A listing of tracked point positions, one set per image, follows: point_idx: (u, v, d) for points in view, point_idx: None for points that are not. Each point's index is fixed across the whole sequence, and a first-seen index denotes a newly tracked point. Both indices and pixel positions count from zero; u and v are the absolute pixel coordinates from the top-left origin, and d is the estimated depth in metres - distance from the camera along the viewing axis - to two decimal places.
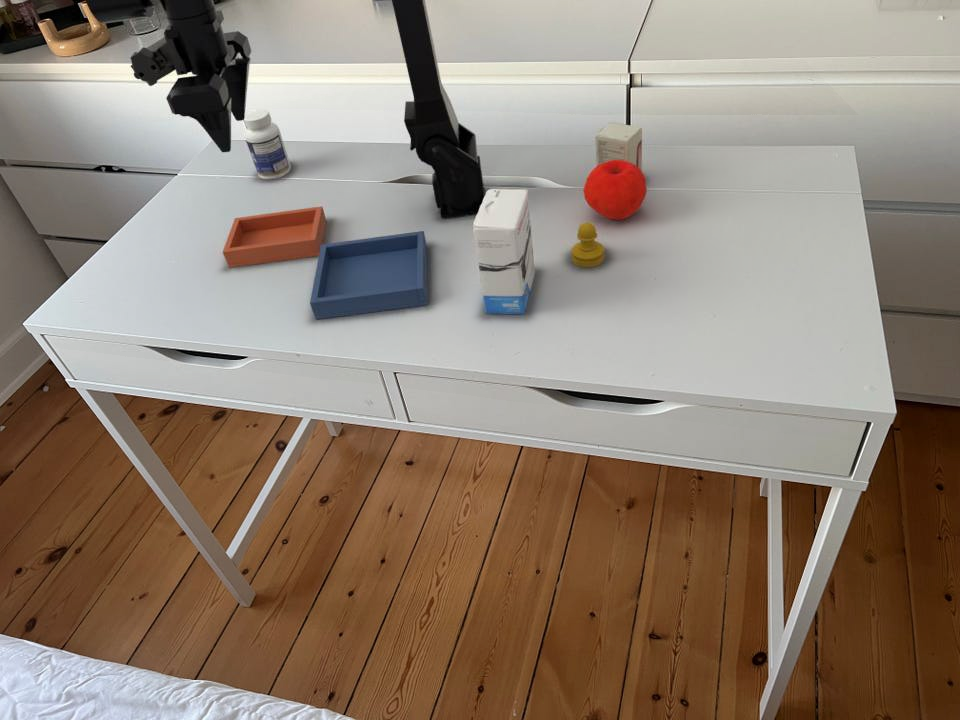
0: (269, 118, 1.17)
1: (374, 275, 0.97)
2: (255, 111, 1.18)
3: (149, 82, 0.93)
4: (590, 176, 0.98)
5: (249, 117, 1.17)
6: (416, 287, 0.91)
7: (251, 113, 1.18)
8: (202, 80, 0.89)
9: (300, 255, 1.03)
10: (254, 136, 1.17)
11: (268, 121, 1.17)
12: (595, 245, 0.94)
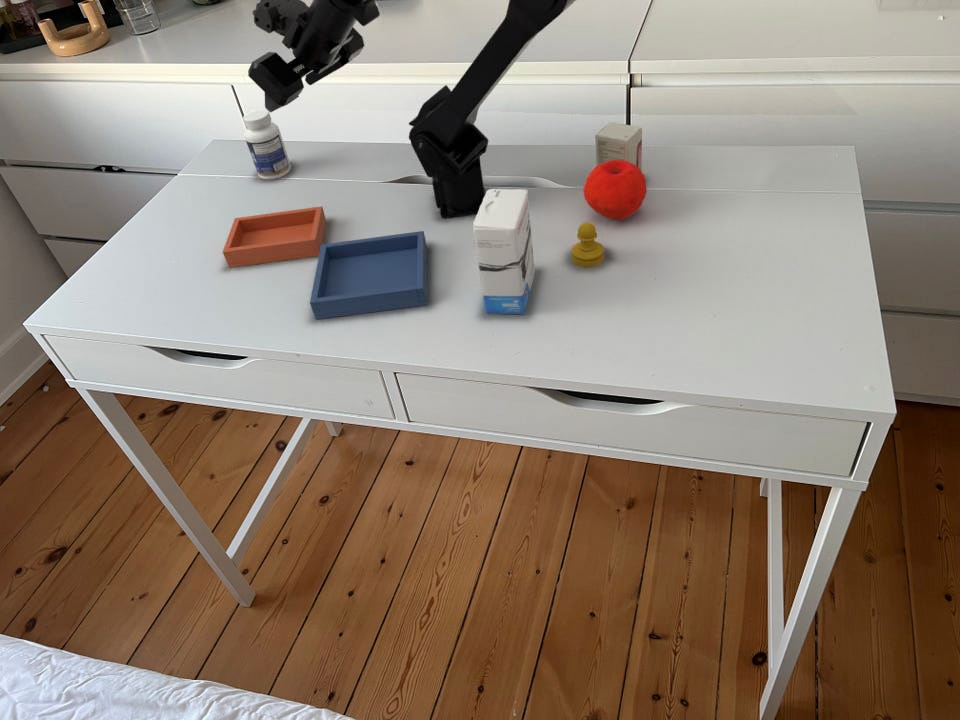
0: (269, 118, 1.17)
1: (374, 275, 0.97)
2: (255, 111, 1.18)
3: None
4: (590, 176, 0.98)
5: (249, 117, 1.17)
6: (416, 287, 0.91)
7: (251, 113, 1.18)
8: (286, 77, 0.99)
9: (300, 255, 1.03)
10: (254, 136, 1.17)
11: (268, 121, 1.17)
12: (595, 245, 0.94)
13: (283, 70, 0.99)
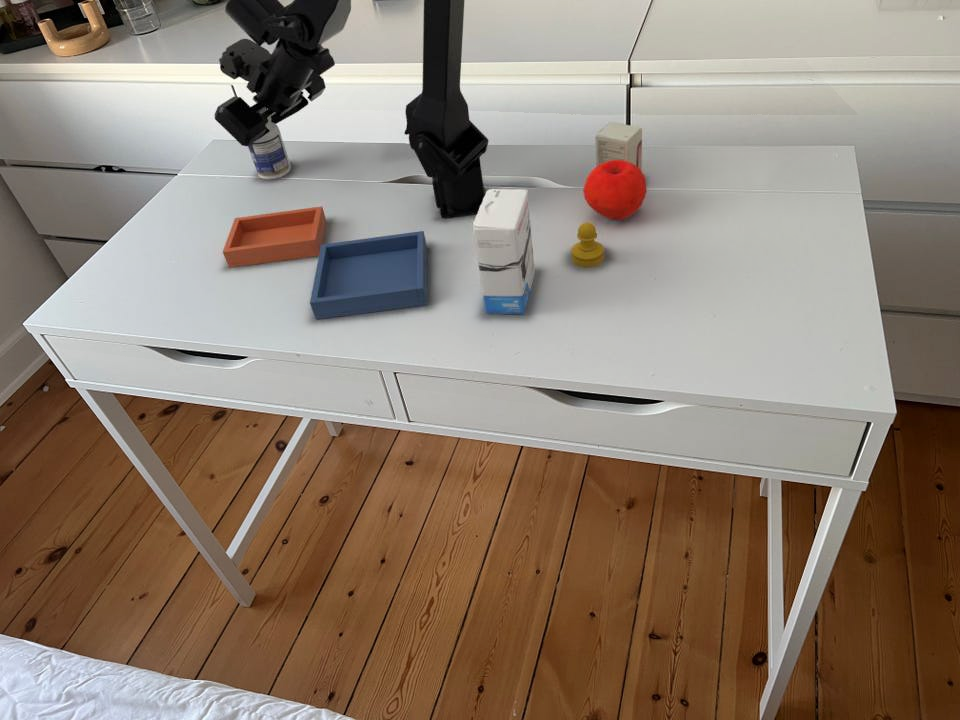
0: (269, 118, 1.17)
1: (374, 275, 0.97)
2: None
3: None
4: (590, 176, 0.98)
5: None
6: (416, 287, 0.91)
7: None
8: (249, 120, 1.08)
9: (300, 255, 1.03)
10: None
11: (268, 121, 1.17)
12: (595, 245, 0.94)
13: (246, 113, 1.08)
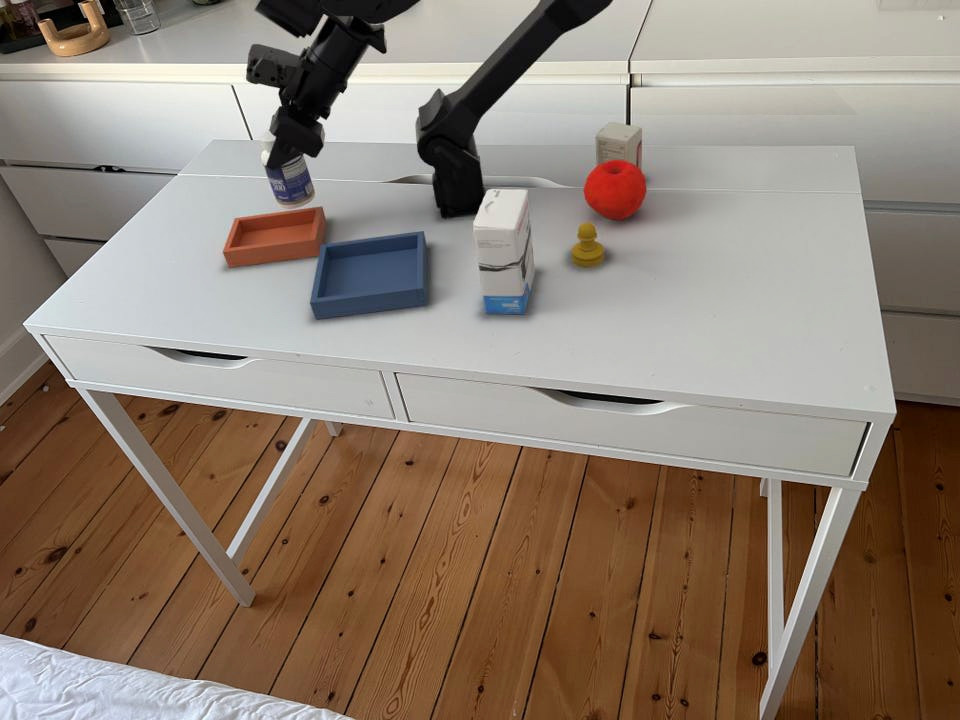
0: None
1: (374, 275, 0.97)
2: (268, 131, 1.00)
3: (250, 79, 0.92)
4: (590, 176, 0.98)
5: (270, 137, 0.99)
6: (416, 287, 0.91)
7: (266, 134, 0.99)
8: (313, 126, 0.92)
9: (300, 255, 1.03)
10: None
11: None
12: (595, 245, 0.94)
13: (306, 120, 0.92)
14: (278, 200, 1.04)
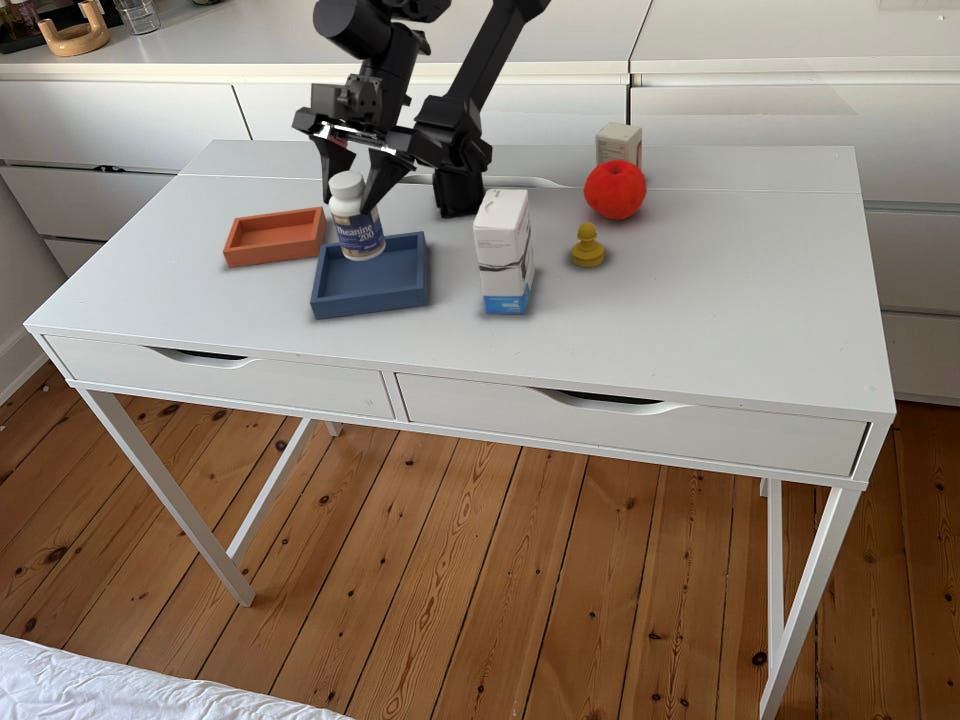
0: None
1: (374, 275, 0.97)
2: (334, 181, 0.88)
3: (342, 115, 0.81)
4: (590, 176, 0.98)
5: (349, 182, 0.87)
6: (416, 287, 0.91)
7: (339, 183, 0.87)
8: None
9: (300, 255, 1.03)
10: None
11: None
12: (595, 245, 0.94)
13: None
14: (362, 253, 0.92)
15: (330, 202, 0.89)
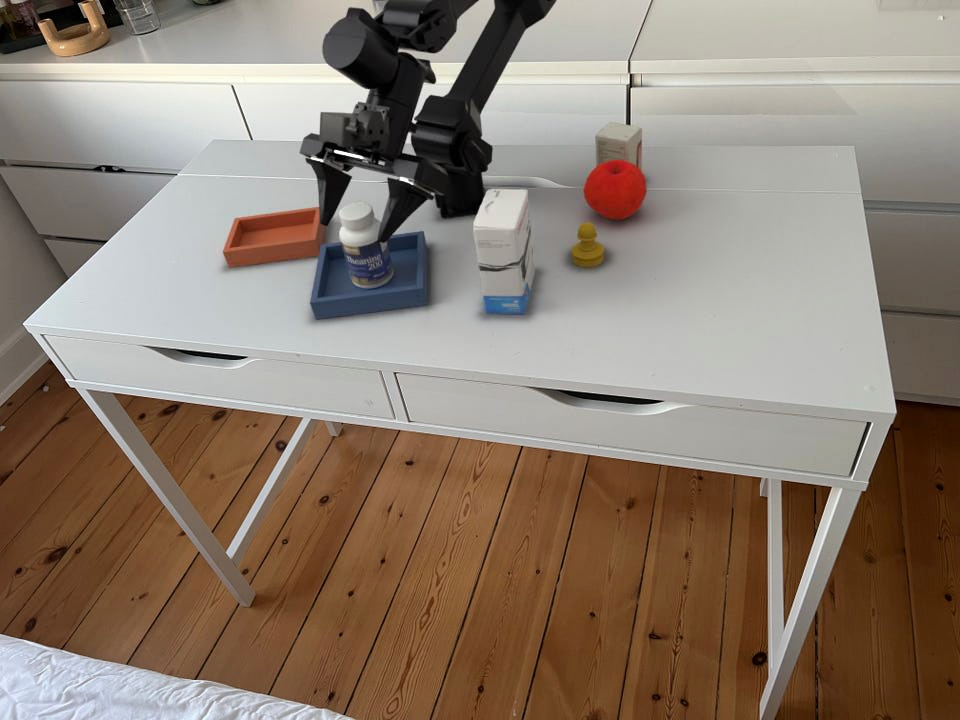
0: None
1: None
2: (345, 212, 0.91)
3: (351, 143, 0.83)
4: (590, 176, 0.98)
5: (359, 213, 0.90)
6: (416, 287, 0.91)
7: (349, 214, 0.90)
8: None
9: (300, 255, 1.03)
10: (378, 228, 0.92)
11: None
12: (595, 245, 0.94)
13: None
14: (371, 281, 0.94)
15: (340, 232, 0.92)
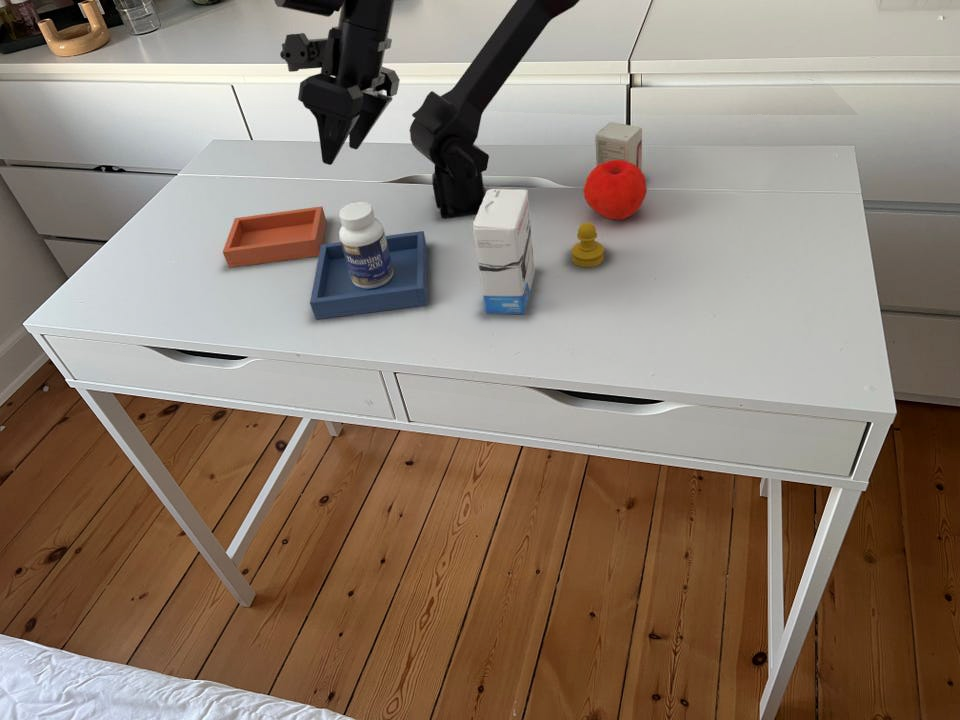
0: None
1: None
2: (345, 212, 0.91)
3: (290, 67, 0.90)
4: (590, 176, 0.98)
5: (359, 213, 0.90)
6: (416, 287, 0.91)
7: (349, 214, 0.90)
8: (343, 84, 0.85)
9: (300, 255, 1.03)
10: (378, 228, 0.92)
11: None
12: (595, 245, 0.94)
13: (336, 80, 0.85)
14: (371, 281, 0.94)
15: (340, 232, 0.92)
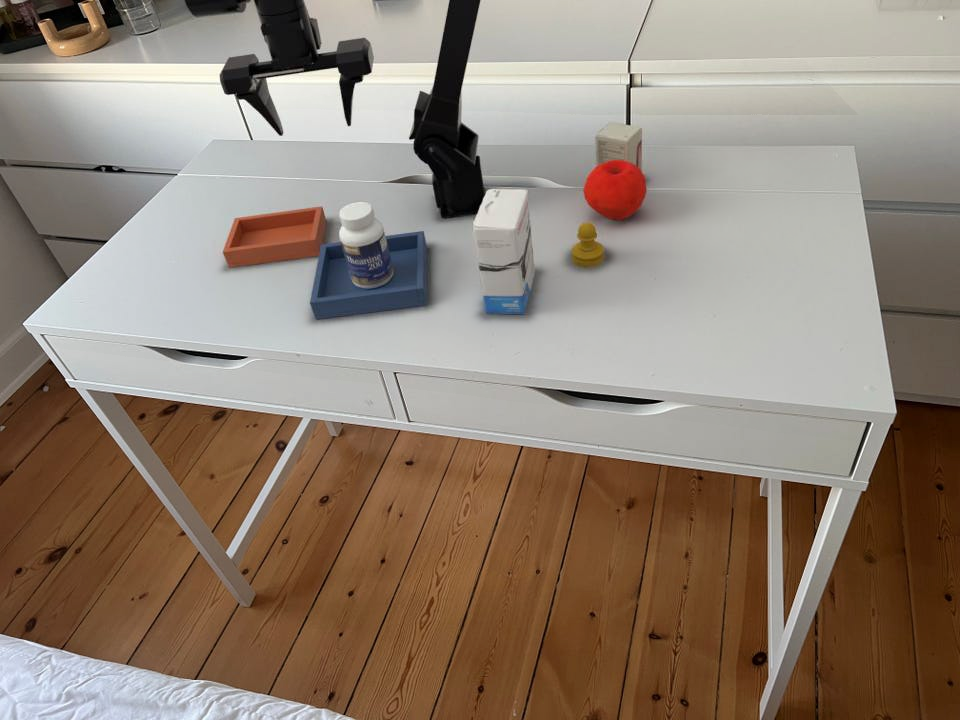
0: None
1: None
2: (345, 212, 0.91)
3: None
4: (590, 176, 0.98)
5: (359, 213, 0.90)
6: (416, 287, 0.91)
7: (349, 214, 0.90)
8: (235, 65, 0.95)
9: (300, 255, 1.03)
10: (378, 228, 0.92)
11: None
12: (595, 245, 0.94)
13: (240, 62, 0.96)
14: (371, 281, 0.94)
15: (340, 232, 0.92)
